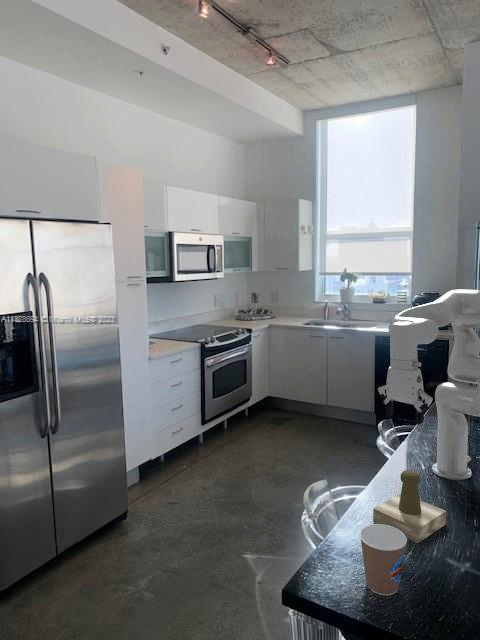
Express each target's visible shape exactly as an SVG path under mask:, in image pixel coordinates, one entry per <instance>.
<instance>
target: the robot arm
mask: <svg viewBox="0 0 480 640" xmlns="http://www.w3.org/2000/svg"><path fill="white" fill-rule="evenodd" d="M450 324H451V327H452V331H453V334H454V343H453V347H452V350H451V354H450V357H449V362H448V365H447V375H448V377H450V379H452V380H455V381H457V382H464V383H470V384H475V385H477V386H474V385H468V384H464V383H463V384H462V383H457V382H451V381H450V382H448V381H447V382H446V381H445V382H442V383H440V384H438V385H437V387H436V389H435V390H434V391H435V393H434V399H433V397H432V396H431V395H429V394H428V393H427V392H425V389H424V382H423V381H424V380H423V375H422V371H421V369H420V367H422V362H419V359H418V345H428V344H431V343H433V342H434V341H435V340H436V339H437V338H438V336H439V328H442V327H446V326H449V325H450ZM474 329H480V289H452V290H448V291H447V292H445V294H443V295H441V296H439V297H438V298H437V299H436V300H434V301H433V302H429V303H425V304H421V305H417V306H414V307H411V308H408V309H405V310H403V311H401V312H399V313H398V314H397V315H395V316H394V317H393V318H392V319H391V320H390V322H389V326H388V333H389V337H390V338H389V347H390V349H389V353H390V355H389V356H390V360H389V361H390V366H389V367H388V369H387V375H386V384H385V385H382V386H379V387H378V388H377V391H378V393H379V395H380V399H382V401H383V404H384V405H385V416H386V418H391V417H392V416H395V415H394V414H395V404H394V402H393V401H396V402H400V403H405V404H408V405H412V406H413V407H414V408H415V409H416V411H415V425H416V426H419V425H421V424H423V423H424V421H425V410H427V409H428V408H429V407H430V405H431V404H432V401H433V400H435V404H436V410H437V411H436V412H437V413H436V414H437V435H436V436H437V441H436V452H437V453H436V462H435V463H433V464H432V465H431V466H432V467H431V471H432V472H433V473H434V474H435V475H437V476H438V477H441V478H444V479H448V480H454V481H455V480H456V481H457V480H458V481H461V480H462V481H463V480H467V479H469V478H471V477H472V474H473V473H472V470H471V468H470V467H467V466H468V463H469V462H470V461H471V460H472V458H471V456H470V455H468V439H469V438H468V435H469V434H468V431H469V425H468V420H467V418H466V416H465V415H469V416H473V417H474V416H475V417H480V337H479V336H478V334H477V332H476V331H475V330H474ZM423 401H424V403H423ZM464 414H465V415H464Z"/></svg>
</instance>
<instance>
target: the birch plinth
mask: <svg viewBox="0 0 480 640" xmlns="http://www.w3.org/2000/svg"><path fill="white" fill-rule="evenodd" d="M400 496H401V493H399V494H397V495H396V496H393V497H392V498H389V499H388V500H386V501H385V502H382V503H381V504H379V505H377V506H375V507H373V508H372V510H373V511H372V523H375V524H383V525H388V526H392V527H394V528H397V529H398V530H400V531H401V532H403V533H404V534H405V536H406V538H407V540H410V541H412V542H415V543H416V544H419V543H420V542H422V541H423V540H425V539H426V538H429V536H431V535H432V534H434V533H435V532H437V531H439V530H440V529H441V528H443V527H444V526H446V525H447V510H444V509H442V508H441V507H437V506H436V505H432V504H430V503H427V502H425V501H422V500H420V504H421V513H420V514H417V515H409V514H405V513H403V512H401V511H400V510H399V502H400Z"/></svg>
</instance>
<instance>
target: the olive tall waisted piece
mask: <svg viewBox="0 0 480 640" xmlns="http://www.w3.org/2000/svg"><path fill="white" fill-rule="evenodd" d="M400 481H401V483H402V485H401V489H400V490H401V492H400V494H401V496H400V502H399V510H400V511H401V512H403V513H405V514H409V515H417V514H420V513H421V504H420V501H421V497H420V490H419V484H420V482H421V476H420V474H419V473H418V472H417V471H415V470H413V469H412V470H411V469H406V470H403V471H402V472H401V473H400Z"/></svg>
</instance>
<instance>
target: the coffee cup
mask: <svg viewBox="0 0 480 640" xmlns="http://www.w3.org/2000/svg"><path fill="white" fill-rule="evenodd" d="M358 535H359V538H360V542H361V551H362V559H363V570H364V574H365V575H364V576H365V577H364V578H365V581H366V586H367V585H368V586H367V588H368V589H369V588H370V589H371V590H370V589H369V590H370V591H371V592H373V593H375V594H377V593H378V595H381V596H392V595H394V594H396V593H397V592H398V590H399V586H400V585H401V583H400V582H401V577H402V571H403V565H404V564H403V563H404V558H405V557H404V556H405V548H406V545H407V542H408V538H406V536H405V534H404V533H403V532H401V531H400V530H398V529H397V528H394V527H392V526H388V525H383V524H377V523H375V524H369V525H365V526H364V527H362V528H361V529H360V530H359V533H358Z"/></svg>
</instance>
